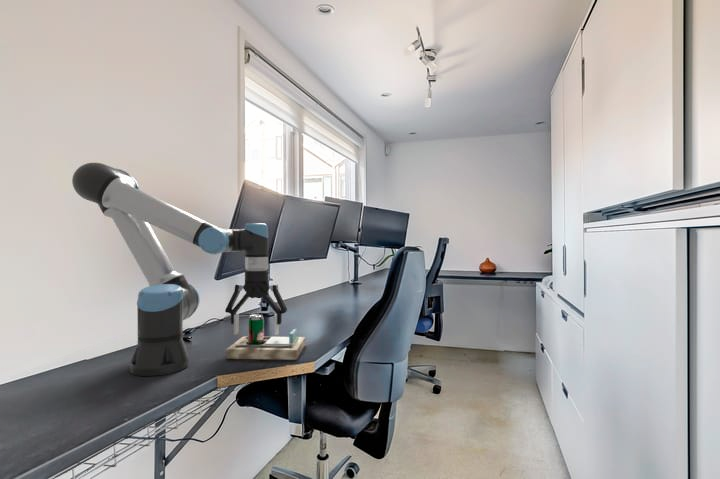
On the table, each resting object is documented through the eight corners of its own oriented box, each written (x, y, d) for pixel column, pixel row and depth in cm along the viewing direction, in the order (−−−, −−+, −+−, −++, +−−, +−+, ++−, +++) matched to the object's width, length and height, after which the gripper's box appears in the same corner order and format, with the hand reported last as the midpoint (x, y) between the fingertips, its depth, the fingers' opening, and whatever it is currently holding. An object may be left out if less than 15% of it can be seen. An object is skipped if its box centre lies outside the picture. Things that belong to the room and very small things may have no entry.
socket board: (226, 358, 122) (226, 347, 122) (243, 344, 138) (243, 334, 138) (296, 359, 121) (296, 348, 121) (305, 345, 137) (305, 335, 137)
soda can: (259, 354, 127) (259, 317, 127) (245, 353, 128) (245, 316, 128) (266, 350, 132) (266, 314, 132) (252, 349, 133) (252, 313, 133)
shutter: (264, 346, 125) (264, 334, 125) (271, 338, 134) (271, 327, 134) (292, 346, 125) (292, 334, 125) (297, 339, 134) (297, 328, 134)
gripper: (215, 270, 126) (214, 336, 126) (291, 270, 126) (291, 337, 126) (223, 268, 134) (223, 330, 134) (296, 269, 133) (295, 331, 133)
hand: (256, 334), depth 130 cm, fingers open, 13 cm apart
